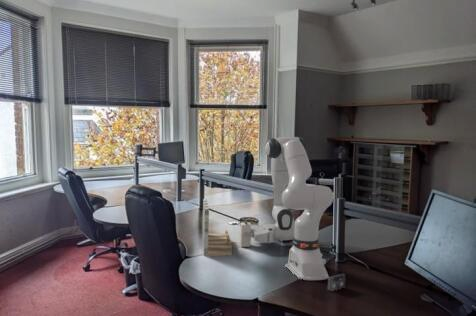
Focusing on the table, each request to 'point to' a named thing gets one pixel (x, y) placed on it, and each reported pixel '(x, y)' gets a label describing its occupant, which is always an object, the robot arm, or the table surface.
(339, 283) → the mini dv tape
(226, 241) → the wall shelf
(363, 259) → the table surface
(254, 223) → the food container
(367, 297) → the table surface
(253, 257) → the table surface
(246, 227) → the cabinet block
